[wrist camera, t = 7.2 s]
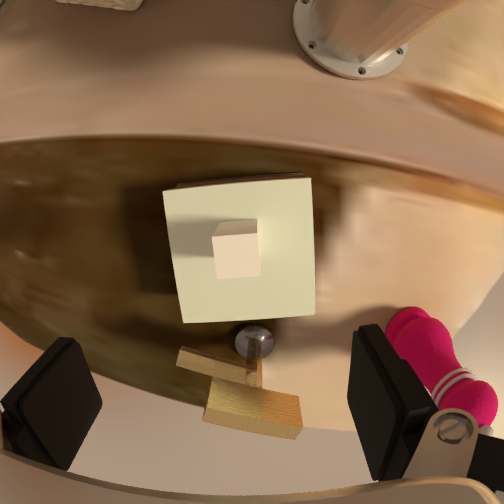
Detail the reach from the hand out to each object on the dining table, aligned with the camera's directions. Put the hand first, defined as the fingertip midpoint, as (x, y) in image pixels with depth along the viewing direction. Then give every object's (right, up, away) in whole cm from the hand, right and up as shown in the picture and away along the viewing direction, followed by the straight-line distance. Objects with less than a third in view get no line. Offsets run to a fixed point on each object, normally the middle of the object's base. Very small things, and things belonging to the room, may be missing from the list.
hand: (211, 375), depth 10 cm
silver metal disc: (+2, -6, +26) cm, 27 cm away
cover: (0, +4, +18) cm, 18 cm away
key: (0, -6, +25) cm, 26 cm away
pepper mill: (+21, -6, +26) cm, 34 cm away
